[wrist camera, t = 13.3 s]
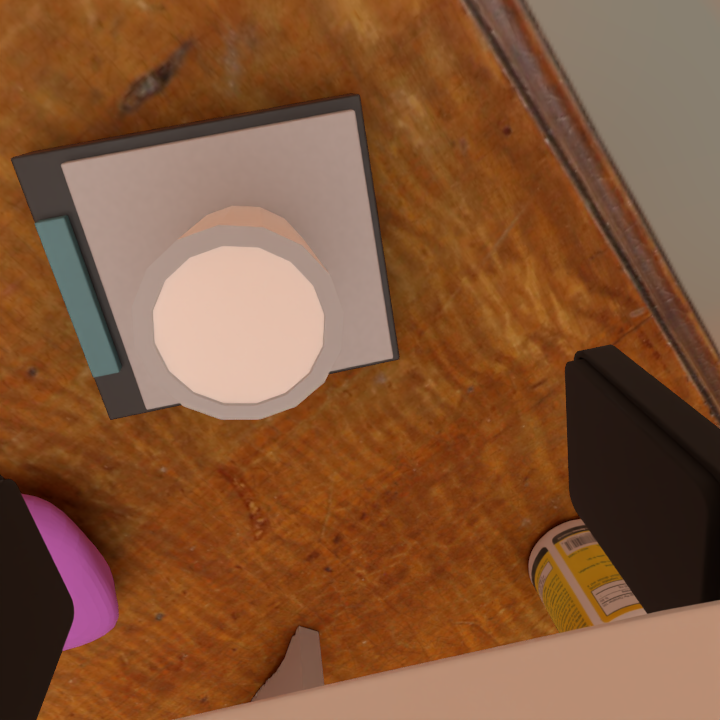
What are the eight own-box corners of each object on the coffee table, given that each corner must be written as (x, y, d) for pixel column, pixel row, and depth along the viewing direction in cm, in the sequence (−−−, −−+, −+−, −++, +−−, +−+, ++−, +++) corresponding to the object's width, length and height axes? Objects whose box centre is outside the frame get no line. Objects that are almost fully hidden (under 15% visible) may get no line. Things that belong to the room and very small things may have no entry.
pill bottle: (566, 605, 42) (661, 769, 32) (505, 564, 40) (586, 725, 30) (636, 544, 41) (758, 695, 31) (577, 498, 39) (687, 643, 29)
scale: (352, 92, 28) (362, 94, 25) (391, 341, 33) (403, 366, 30) (29, 151, 27) (1, 160, 24) (120, 397, 32) (105, 429, 29)
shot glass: (355, 296, 28) (381, 359, 22) (224, 373, 29) (212, 456, 22) (270, 156, 25) (272, 181, 19) (127, 244, 26) (83, 298, 20)
